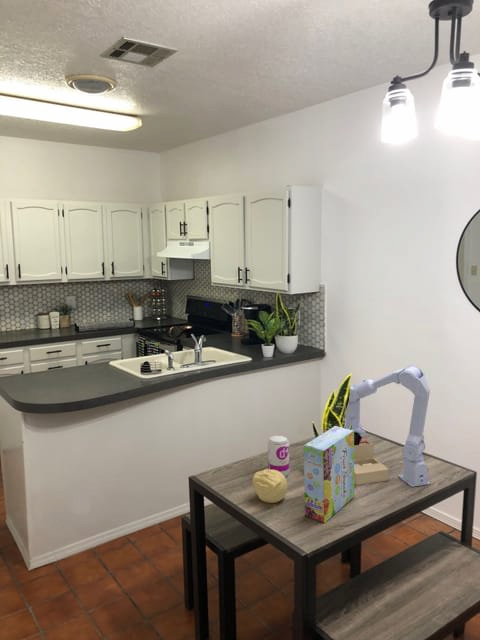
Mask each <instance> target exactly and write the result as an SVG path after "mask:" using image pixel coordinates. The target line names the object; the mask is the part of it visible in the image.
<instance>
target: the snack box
mask: <svg viewBox="0 0 480 640" xmlns="http://www.w3.org/2000/svg"><path fill="white" fill-rule="evenodd" d="M303 483H304V484H303V487H304V491H303V492H304V494H303V495H304V516H305V517H308V518H310V519H314V520H316V521H319V522H321V523H323V524H326V522H328V520H330V519H331V518H332V517H333V516H334V515H335V514H337V513H338V512H339V511H340V510H341V509H343V507H344V506H346V505H347V504H348V503H349V502H350V501H351V500H352V499H354V497H355V484H354V430H350V429H345V428H344V427H343V426H338V425H337V426H336V425H334V426H333V427H331V428H330V429H328V430H326V431H324V432H323V433H322V434H320V435H318V436H316V437H315V438H313V439H312V440H311V441H309V442H307V443H306V444H304V445H303Z"/></svg>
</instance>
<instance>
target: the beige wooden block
mask: <svg viewBox="0 0 480 640" xmlns="http://www.w3.org/2000/svg"><path fill="white" fill-rule="evenodd" d="M374 446H375V445H374V442H373V443H372V442H371V441H369V440H368V439H361V441H360V443H359V445H355V446H354V460H361V459H368V458H374V451H375V450H374V449H375V448H374Z"/></svg>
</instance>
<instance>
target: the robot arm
mask: <svg viewBox="0 0 480 640" xmlns="http://www.w3.org/2000/svg"><path fill="white" fill-rule="evenodd" d="M392 383H394V384H396V385H401V386H403V387H405V388H406V389H408V390H409V391H410V392H411V393H412V394H413V395H414V399H413V405H412V411H411V419H410V423H409V430H408V431H409V432H408V436H407V437H406V440H405V443H404V446H403V447H402V449H401V454H402V456H403V460H402V461H403V462H402V473H401V474H398V475H397V476H398V477H399V478H400V479H401V480H402V481H404V482H405V483H406V484H408V485H409V486H410V487H418V486H425V485H430V482H429V467H428V465H427V464H426V463H425V461H424V454H423V452H424V451H425V450H426V444H425V443H426V442H425V435H424V431H425V430H424V429H425V424H426V418H427V410H428V405H429V401H430V400H429V399H430V393H431V392H430V388H429V386H428V382H427V380H426V377H425V372H424V371H422V369H421V368H420V367H419V366H417V365H413V364H412V365H409V366H408V367H403V368H399V369H396V370H393V371H392V372H390V373H388V374H385V375H384V376H381V377H379V378H377V379H375V380H373V379H371V378H370V379H367V378H365V379H362V382H360V383H355V384H352V386H350V387H349V388H350V396H349V402H348V406H347V411H346V410H345V426H343V428H344V427H345V429H349V427H350V426H352V429H351V430H354V446H355V445H360V444H359V443H360V441H361V440H363V437H366V435H367V432H366V430H364V429H363V427H362V424H361V399H363V398H366V397H368V396H371V395H373V394H376V392H377V391H378V388H379V389H380V388H381V387H385V386H386V385H389V384H392ZM351 424H352V425H351Z"/></svg>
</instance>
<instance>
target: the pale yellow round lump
mask: <svg viewBox="0 0 480 640" xmlns="http://www.w3.org/2000/svg"><path fill="white" fill-rule="evenodd" d="M286 478H287V477H284V475H283V474H282V473H281V472H279V471H277V470H268V468H265V469H263V470H259V471H256V472H255V473H254V474H253V477H252V479H251V480H252V488H253V489H254V491H255V493H256V495H257V497H258V498H259V500H261V501H262V502H265V503H269V504H274V503H278V502H280V501H282V500H283V499H284V498H285V496H286V495H287V492H288V481H287V479H286Z"/></svg>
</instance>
